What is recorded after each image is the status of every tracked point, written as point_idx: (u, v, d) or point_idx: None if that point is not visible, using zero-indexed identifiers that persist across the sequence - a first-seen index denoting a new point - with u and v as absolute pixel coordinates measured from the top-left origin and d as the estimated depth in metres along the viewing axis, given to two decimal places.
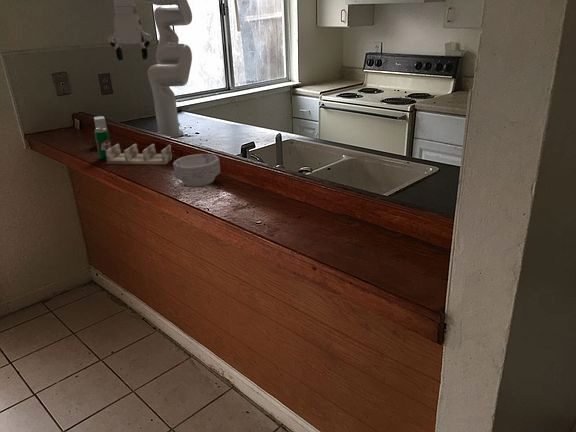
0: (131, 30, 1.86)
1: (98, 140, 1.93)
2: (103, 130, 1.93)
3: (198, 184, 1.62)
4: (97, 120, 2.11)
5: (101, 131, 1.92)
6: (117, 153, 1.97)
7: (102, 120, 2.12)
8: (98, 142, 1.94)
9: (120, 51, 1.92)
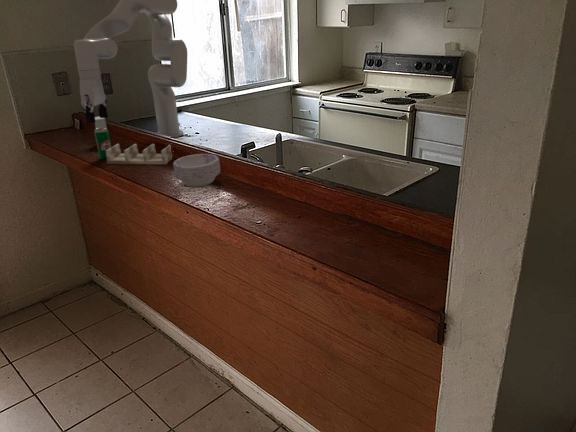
0: (101, 91, 1.89)
1: (98, 140, 1.93)
2: (103, 130, 1.93)
3: (198, 184, 1.62)
4: (97, 120, 2.11)
5: (101, 131, 1.92)
6: (117, 153, 1.97)
7: (102, 120, 2.12)
8: (98, 142, 1.94)
9: None
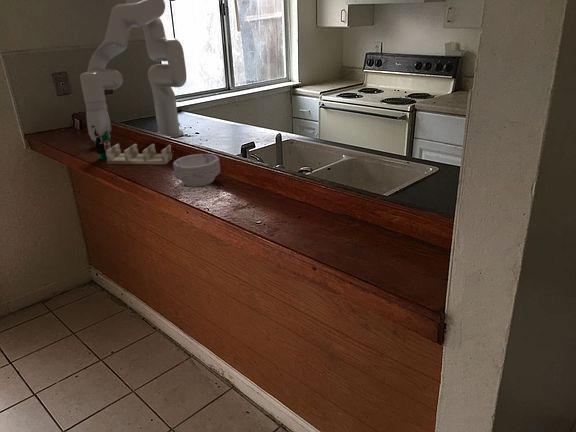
0: (107, 121, 1.94)
1: None
2: None
3: (198, 184, 1.62)
4: None
5: None
6: (117, 153, 1.97)
7: None
8: None
9: None
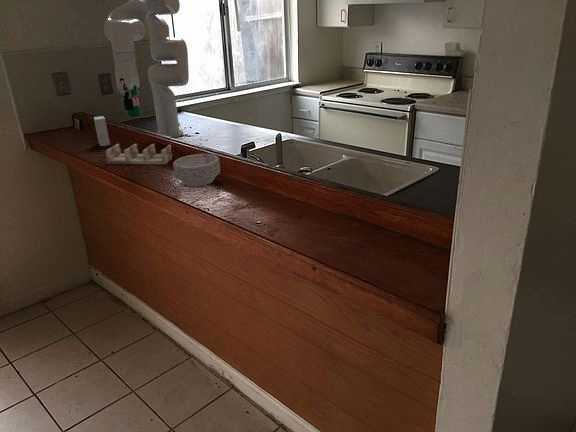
0: (136, 75, 1.83)
1: None
2: None
3: (198, 184, 1.62)
4: (97, 120, 2.11)
5: None
6: (117, 153, 1.97)
7: (102, 120, 2.12)
8: None
9: None
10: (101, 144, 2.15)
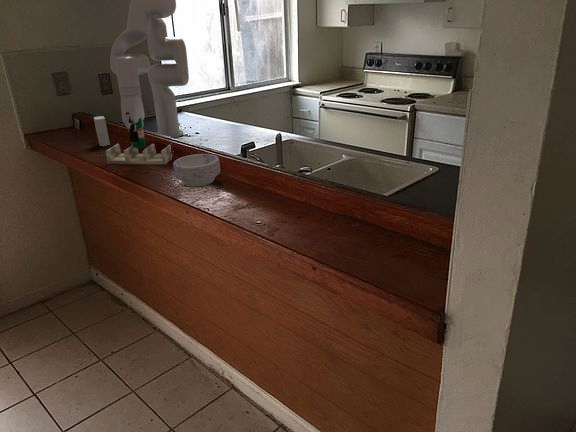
0: (141, 108, 1.88)
1: None
2: None
3: (198, 184, 1.62)
4: (97, 120, 2.11)
5: None
6: (117, 153, 1.97)
7: (102, 120, 2.12)
8: None
9: None
10: (101, 144, 2.15)
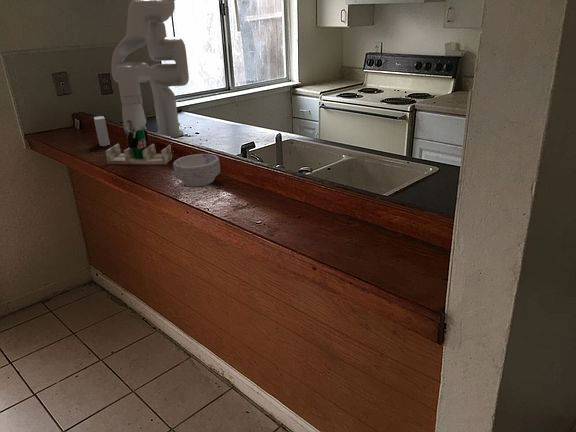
0: (142, 115, 1.89)
1: None
2: None
3: (198, 184, 1.62)
4: (97, 120, 2.11)
5: None
6: (117, 153, 1.97)
7: (102, 120, 2.12)
8: None
9: None
10: (101, 144, 2.15)
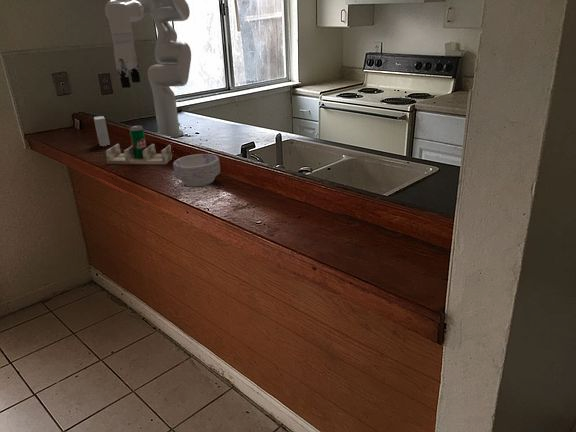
0: (134, 55, 1.90)
1: (134, 138, 1.88)
2: (139, 128, 1.88)
3: (198, 184, 1.62)
4: (97, 120, 2.11)
5: (137, 129, 1.87)
6: (117, 153, 1.97)
7: (102, 120, 2.12)
8: (134, 140, 1.89)
9: None
10: (101, 144, 2.15)
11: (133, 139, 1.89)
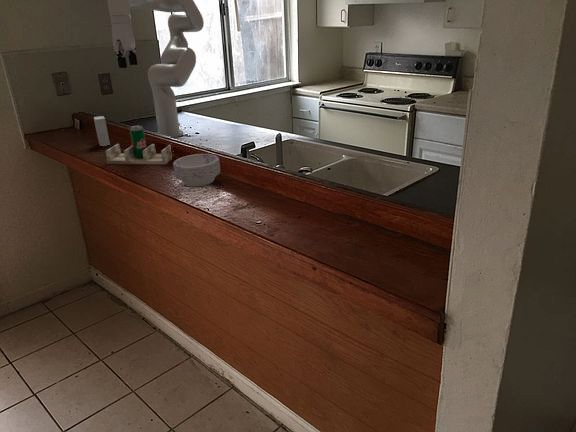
0: (132, 37, 1.96)
1: (134, 138, 1.88)
2: (139, 128, 1.88)
3: (198, 184, 1.62)
4: (97, 120, 2.11)
5: (137, 129, 1.87)
6: (117, 153, 1.97)
7: (102, 120, 2.12)
8: (134, 140, 1.89)
9: None
10: (101, 144, 2.15)
11: (133, 139, 1.88)
